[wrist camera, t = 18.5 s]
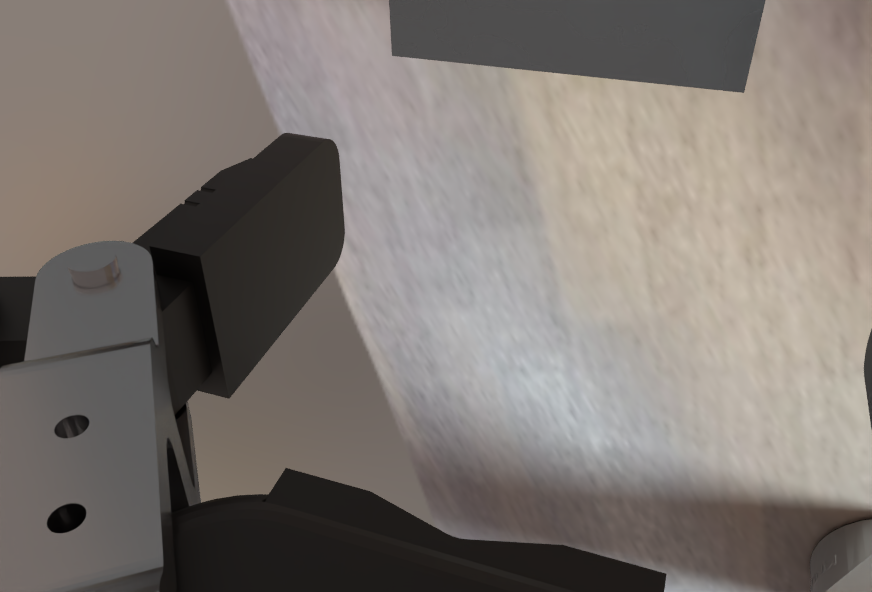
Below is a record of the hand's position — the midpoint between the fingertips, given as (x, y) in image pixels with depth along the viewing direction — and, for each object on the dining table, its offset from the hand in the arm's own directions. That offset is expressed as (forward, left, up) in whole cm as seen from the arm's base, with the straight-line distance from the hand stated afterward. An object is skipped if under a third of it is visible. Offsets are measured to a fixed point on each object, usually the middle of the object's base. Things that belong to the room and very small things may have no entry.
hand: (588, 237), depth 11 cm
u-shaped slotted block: (+3, +2, -22) cm, 22 cm away
